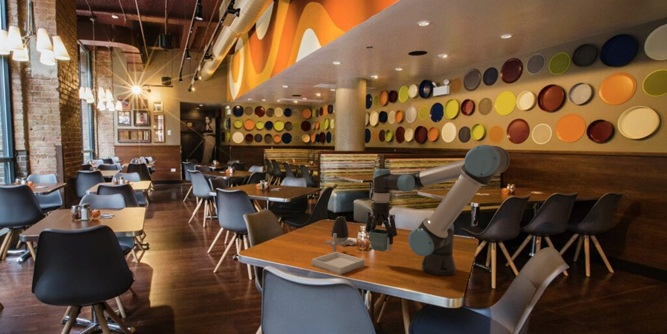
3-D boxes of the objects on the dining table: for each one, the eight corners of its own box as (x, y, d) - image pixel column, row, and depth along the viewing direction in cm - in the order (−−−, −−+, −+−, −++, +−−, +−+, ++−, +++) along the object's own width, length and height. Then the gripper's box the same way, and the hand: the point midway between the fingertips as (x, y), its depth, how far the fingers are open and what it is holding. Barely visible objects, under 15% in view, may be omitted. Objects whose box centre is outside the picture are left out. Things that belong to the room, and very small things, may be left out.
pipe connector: (342, 256, 185) (342, 236, 185) (323, 254, 187) (323, 235, 187) (345, 250, 195) (345, 232, 195) (327, 249, 197) (327, 230, 197)
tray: (364, 265, 171) (364, 259, 171) (340, 274, 158) (340, 268, 158) (335, 257, 183) (336, 251, 182) (311, 265, 169) (311, 259, 169)
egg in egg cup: (351, 241, 215) (352, 216, 214) (342, 245, 206) (343, 218, 206) (337, 238, 221) (338, 213, 220) (327, 242, 212) (328, 216, 211)
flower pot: (385, 253, 166) (385, 234, 166) (368, 250, 171) (368, 231, 171) (392, 249, 174) (393, 230, 173) (376, 246, 178) (376, 228, 178)
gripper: (405, 203, 167) (404, 251, 168) (367, 198, 181) (366, 243, 182) (397, 204, 162) (396, 254, 163) (358, 200, 176) (357, 246, 177)
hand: (380, 248), depth 172 cm, fingers closed on flower pot, 9 cm apart
